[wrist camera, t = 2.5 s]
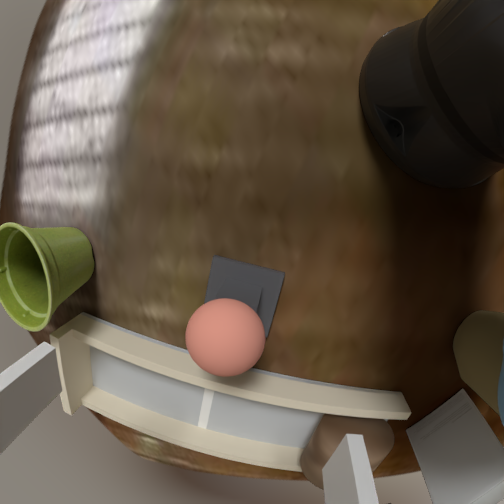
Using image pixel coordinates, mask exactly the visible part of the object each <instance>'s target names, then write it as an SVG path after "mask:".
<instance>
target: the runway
mask: <svg viewBox="0 0 504 504" xmlns="http://www.w3.org/2000/svg"><path fill="white" fill-rule="evenodd" d="M50 340H51V346H53V347H55V348H56V355H57V362H58V368H59V374H60V380H61V385H62V390H63V391H62V392H61V393H60V397H61V401H62V405H63V409H64V411H65V412H66V413H68V414H70V415H73V414H74V413H75V412H76V411H77V409H78V408H79V407H80V406H81V405H84V406H86V407H88V408H90V409H92V410H94V411H96V412H98V413H100V414H102V415H104V416H106V417H108V418H110V419H112V420H114V421H117V422H119V423H121V424H123V425H126V426H128V427H130V428H133V429H135V430H138V431H140V432H143V433H145V434H148V435H150V436H153V437H156V438H159V439H161V440H164V441H167V442H170V443H173V444H176V445H179V446H182V447H185V448H188V449H192V450H195V451H199V452H202V453H206V454H209V455H213V456H217V457H221V458H225V459H229V460H234V461H238V462H243V463H248V464H253V465H258V466H264V467H270V468H276V469H283V470H291V471H299V472H302V469H301V466H300V458H301V454H302V452H303V451H304V449H305V447H306V445H307V444H308V442H309V440H310V439H311V437H312V435H313V433H314V431H315V430H316V428H317V426H318V424H319V422H320V420H321V419H322V417H323V415H324V414H325V413H327V414H335V415H343V416H353V417H364V418H378V419H384V420H385V421H386V422H387V421H388V419H398V420H407V419H408V417H409V416H410V414H411V410H410V408H409V406H408V404H407V402H406V400H405V398H404V396H403V394H402V392H395V391H385V390H375V389H367V388H359V387H351V386H344V385H337V384H331V383H325V382H319V381H313V380H307V379H302V378H297V377H292V376H287V375H282V374H277V373H273V372H268V371H264V370H259V369H255V368H250V369H249V370H247V371H246V372H244V373H242V374H239V375H236V376H229V377H222V376H216V375H213V374H210V373H208V372H206V371H204V370H203V369H201V368H200V367H199V366H198V365H197V364H196V363H195V362H194V361H193V359H192V358H191V356H190V354H189V352H188V350H185V349H182V348H179V347H176V346H173V345H170V344H167V343H164V342H161V341H158V340H155V339H152V338H149V337H146V336H143V335H141V334H138V333H135V332H132V331H130V330H127V329H124V328H122V327H119V326H117V325H114V324H111V323H109V322H106V321H104V320H102V319H99V318H97V317H94V316H92V315H90V314H87V313H85V312H82V313H81V314H79V315H78V316H76V317H75V318H73V319H72V320H70V321H69V322H67V323H66V324H64V325H63V326H61V327H60V328H58V329H57V330H55V331H54V332H52V333H51V334H50Z"/></svg>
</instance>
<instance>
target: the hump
mask: <svg viewBox="0 0 504 504" xmlns="http://www.w3.org/2000/svg"><path fill="white" fill-rule="evenodd" d="M346 434H358V435H363V439H364V443H365V447H366V451H367V455H368V459H369V463H370V467H371V471H372V472H373V471H374V470H375V469H376V468H377V467H378V465H379V464H380V463H381V462H382V461H383V459H384V458H385V457H386V456H387V455H388V453H389V452H390V451H391V449H392V448H393V445H394V433H393V431H392V429H391V427H390V425H389V424H388V423H387V422H386V421H385V420H384V419H378V418H364V417H353V416H343V415H335V414H327V413H325V414H324V415H323V417H322V419H321V420H320V422H319V424H318V426H317V428H316V430H315V431H314V433H313V435H312V437H311V439H310V440H309V442H308V444H307V445H306V447H305V449H304V451H303V452H302V454H301V458H300V466H301V469H302V472H303V473H304V475H305V477H306V478H307V479H308V480H309V481H310V482H311V483H312V484H314V485H315V486H317V487H319V488H321V489H323V490H324V485H323V473H322V469H323V467H324V466H325V464H326V463H327V462H328V460H329V459H330V457H331V456H332V454H333V453H334V452H335V450H336V449H337V447H338V446H339V444H340V443H341V441H342V439H343V438H344V436H345V435H346Z"/></svg>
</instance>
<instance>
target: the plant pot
mask: <svg viewBox="0 0 504 504" xmlns="http://www.w3.org/2000/svg"><path fill="white" fill-rule="evenodd" d="M93 270H94V259H93V255H92V246H91V244H90V242H89V240H88V238H87V237H86V236H85V235H84V234H83V233H82V232H81V231H80V230H78V229H76V228H73V227H58V228H29V227H25V226H22V225H20V224H17V223H5V224H3V225H1V226H0V302H1V304H2V306H3V307H4V309H5V310H6V312H7V313H8V314H9V316H10V317H11V318H12V319H13V320H14V321H15V322H16V323H17V324H18V325H20V326H21V327H22V328H24V329H26V330H30V331H40V330H42V329H43V328H44V327H46V325H47V324H48V323H49V321H50V319H51V316H52V314H53V313H54V312H55V310H56V309H57V307H58V306H59V305H60V304H61V303H62V302H63V301H64V300H65V299H66V298H68V297H69V296H70V295H71V294H72V293H73V292H75V291H76V290H77V289H78V288H80V287H81V286H82V285H83V284H84V283H86V282H87V281H88V280H89V279H90V277H91V275H92V273H93Z"/></svg>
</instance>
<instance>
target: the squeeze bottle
mask: <svg viewBox="0 0 504 504" xmlns="http://www.w3.org/2000/svg"><path fill="white" fill-rule="evenodd" d="M503 339H504V313H501V312H493V311H484V310H479V311H476V312H474V313H472V314H470V315H469V316H468V317H467V318H466V319H464V321H463V322H462V323H461V325H460V326H459V328H458V329H457V332H456V334H455V336H454V340H453V351H454V354H455V358H456V362H457V366H458V369H459V373H460V377H461V379H462V380H463V381H464V382H465V383H466V384H467V385H468V386H469V387H470V388H472V389H473V390H474V391H475V392H476V393H477V394H478V395H479V396H480V397H481V398H482V399H483V400H484V401H485V402H486V403H487V404H488V405H489V406H490V407H491V408H492V409H493V410H494V411H495V412H496V413H497V414H498V415H499V416H500V413H499V407H498V382H499V376H500V372H501V366H502V361H503Z"/></svg>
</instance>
